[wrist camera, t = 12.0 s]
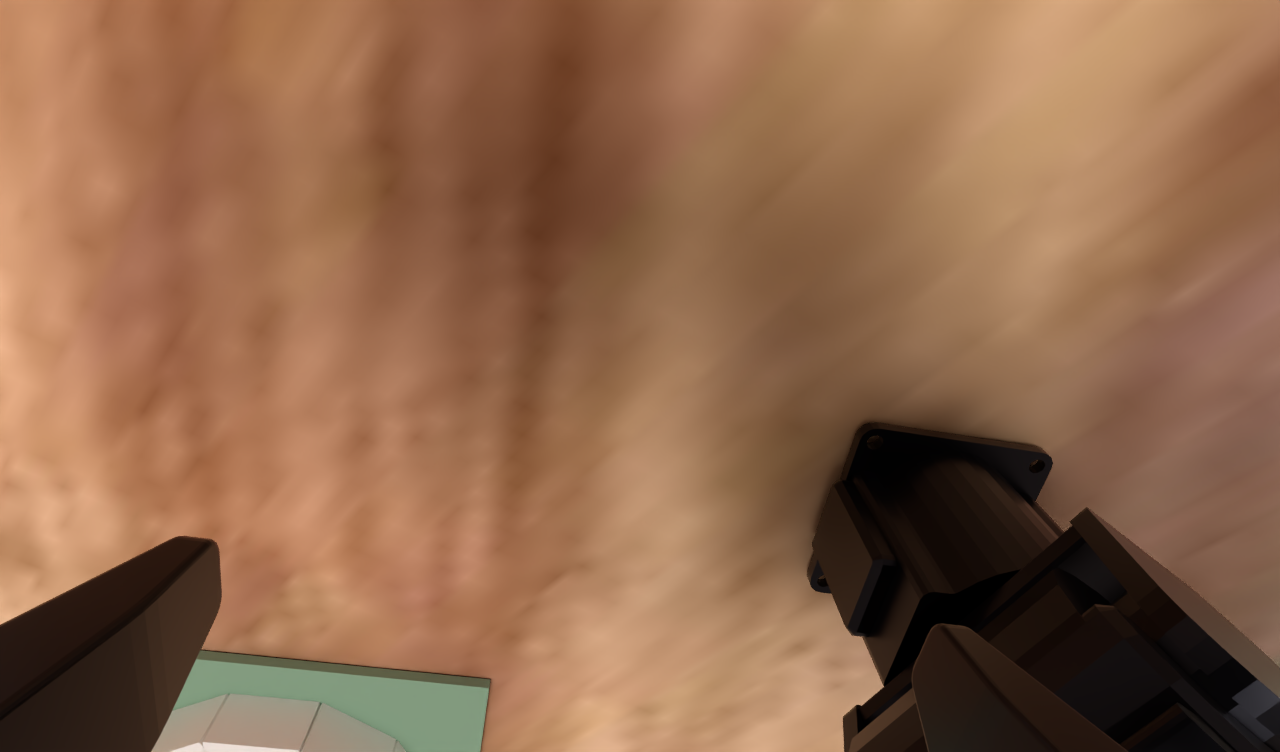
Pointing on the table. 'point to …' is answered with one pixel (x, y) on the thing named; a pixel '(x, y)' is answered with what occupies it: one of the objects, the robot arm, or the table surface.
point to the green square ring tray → (321, 708)
